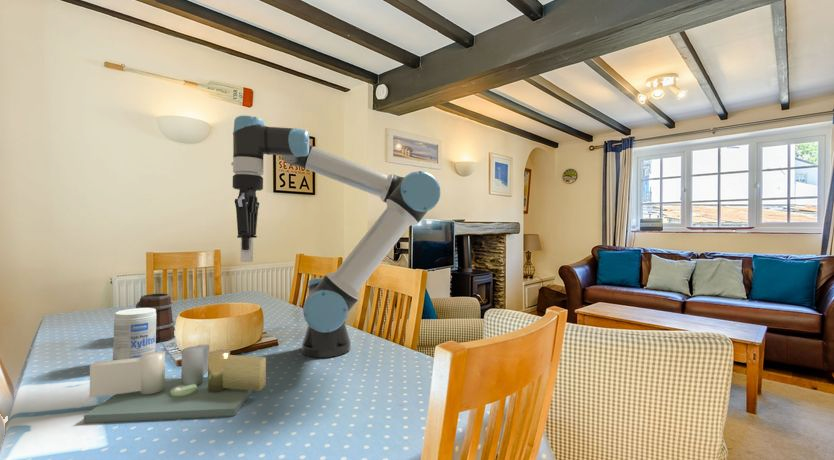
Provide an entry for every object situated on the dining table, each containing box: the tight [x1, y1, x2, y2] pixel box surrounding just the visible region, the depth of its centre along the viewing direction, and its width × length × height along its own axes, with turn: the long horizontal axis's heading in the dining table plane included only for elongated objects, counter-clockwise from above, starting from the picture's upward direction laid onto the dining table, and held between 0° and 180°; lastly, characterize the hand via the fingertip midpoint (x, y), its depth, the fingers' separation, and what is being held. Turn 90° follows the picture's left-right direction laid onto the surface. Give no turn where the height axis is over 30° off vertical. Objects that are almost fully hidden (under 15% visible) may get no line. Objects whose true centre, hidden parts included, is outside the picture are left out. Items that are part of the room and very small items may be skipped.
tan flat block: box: [207, 349, 267, 392], centre depth 83 cm, size 4×13×8 cm, turn 83°
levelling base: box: [83, 344, 254, 424], centre depth 83 cm, size 28×19×10 cm
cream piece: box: [89, 350, 166, 398], centre depth 80 cm, size 4×13×8 cm, turn 113°
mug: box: [135, 293, 176, 344], centre depth 125 cm, size 16×12×15 cm
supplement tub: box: [112, 307, 157, 360], centre depth 103 cm, size 10×10×15 cm
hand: (246, 261), depth 99 cm, fingers closed
